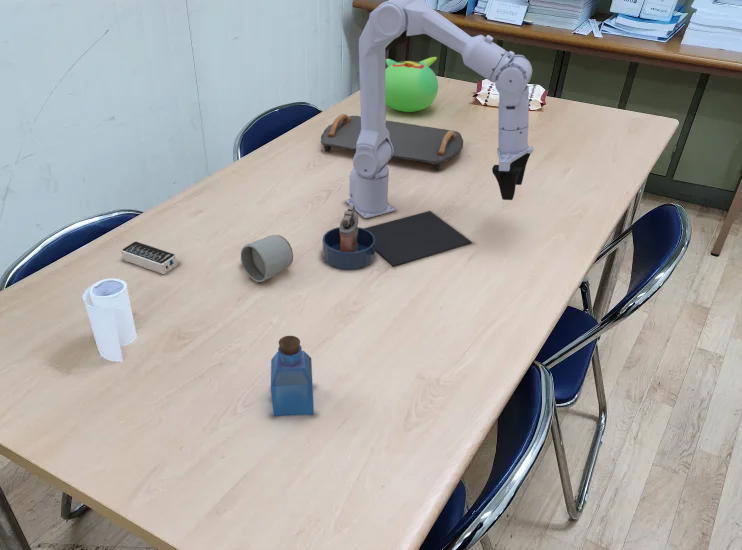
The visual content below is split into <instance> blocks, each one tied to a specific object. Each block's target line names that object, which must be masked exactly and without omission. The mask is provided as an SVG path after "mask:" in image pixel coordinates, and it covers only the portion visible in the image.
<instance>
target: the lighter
mask: <svg viewBox="0 0 742 550" xmlns="http://www.w3.org/2000/svg"><path fill="white" fill-rule="evenodd" d="M355 212H356V210H355V206H354V205H348V207H347V209H346V210H344V214H343V217H342V219H341V221H340V223H339V227H340V234H341V251H342V252H356V251H358V243H357V237H358V228H357V227H359V218H360V216H359V214H357V213H355Z"/></svg>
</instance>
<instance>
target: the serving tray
mask: <svg viewBox="0 0 742 550" xmlns="http://www.w3.org/2000/svg"><path fill="white" fill-rule="evenodd" d="M386 128H387V129H388V131H389V137H390V141H391V143H392V146H393V156H392V158H395V159H400V160H410V161H414V162H420V163H426V164H432V168H433V170H434V171H436V172H439V171H440V170H441V168H442V164H443V163H446V162H449V161H450V160H452V159H453V158H454V157H456V156H457V155H459V153H460V152H461V151H462V149H463V148H464V139H463V137H462V134H461V132H459V131H457V130H451V129H445V128H438V127H433V126H427V125H418V124H412V123H407V122H400V121H393V120H386ZM360 132H361V115H347V114H345V113H342V114H339V115H338V116H337V117H336V118H335V119H334V121H333V122H332V123H331V124H330V125H328V126H327V127H326V128H324V130H323V132H322V134H321V135H320V144H321V145H322V146H323V150H324V152H327V153H329V152H330V151H331V150H332V148H338V149H343V150H349V151H353V152H356V143H357V140H358V138H359V135H360Z"/></svg>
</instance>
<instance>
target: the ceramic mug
mask: <svg viewBox="0 0 742 550" xmlns="http://www.w3.org/2000/svg"><path fill="white" fill-rule="evenodd" d="M293 261H294V251H293V248H292V246H291V243H289V241H288V240H287V238H285V237H284V236H282V235H280V234H271V235H267V236H266V237H263V238H261V239H258V240H256V241H255V240H254V241H252V242H249V243H247V244H244V245H243V247H242V248H241V250H240V262H241V265H242V267H243V269H244V271H245V274H247V276H248V277H249V278H250V279H251V280H253V281H254V282H257V283H263V282H265V281H267V280H268V279H270V278H272V277H275V276H276V275H278V274H280V273H282V272H283V271H285V270H287V269H288V268H289V267H290V266H291V265H292V263H293Z"/></svg>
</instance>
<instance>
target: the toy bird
mask: <svg viewBox="0 0 742 550" xmlns="http://www.w3.org/2000/svg"><path fill="white" fill-rule="evenodd" d="M437 59H438V57H437V56H431V57H428V58H426V59H423V60H420V61H414V60H400V61H395V60H393V59H391V58H385V65H386V66H387V67H385V106H387V107H389V108H391V109H392V110H395V111H398V112H404V113H416V112H419V111H423V110H425V109H426V108H428V107H429V106H431V105H432V104H433V102H434V101H435V99H436V97H437V94H438V92H439V91H438V90H439V82H438V77H437V75H436V74H435V72H434V71H433V69H431V68H430V66H432V65H433V63H435V62H436V61H437Z"/></svg>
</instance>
